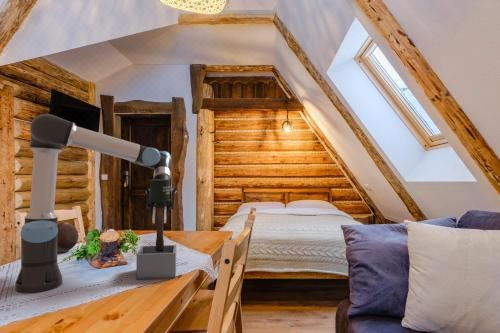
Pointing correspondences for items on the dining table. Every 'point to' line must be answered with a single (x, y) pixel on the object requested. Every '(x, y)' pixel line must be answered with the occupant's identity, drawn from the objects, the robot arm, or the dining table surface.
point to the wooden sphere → (66, 237)
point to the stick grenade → (159, 206)
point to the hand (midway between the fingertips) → (159, 221)
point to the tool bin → (156, 263)
